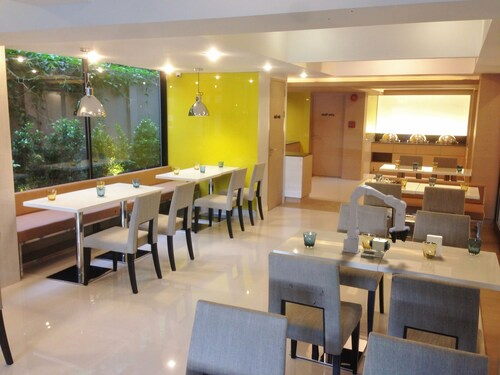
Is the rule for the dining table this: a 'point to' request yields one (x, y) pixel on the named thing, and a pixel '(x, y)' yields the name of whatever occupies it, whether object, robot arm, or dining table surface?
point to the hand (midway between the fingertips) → (398, 242)
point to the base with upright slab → (436, 240)
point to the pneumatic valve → (379, 246)
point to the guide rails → (368, 255)
